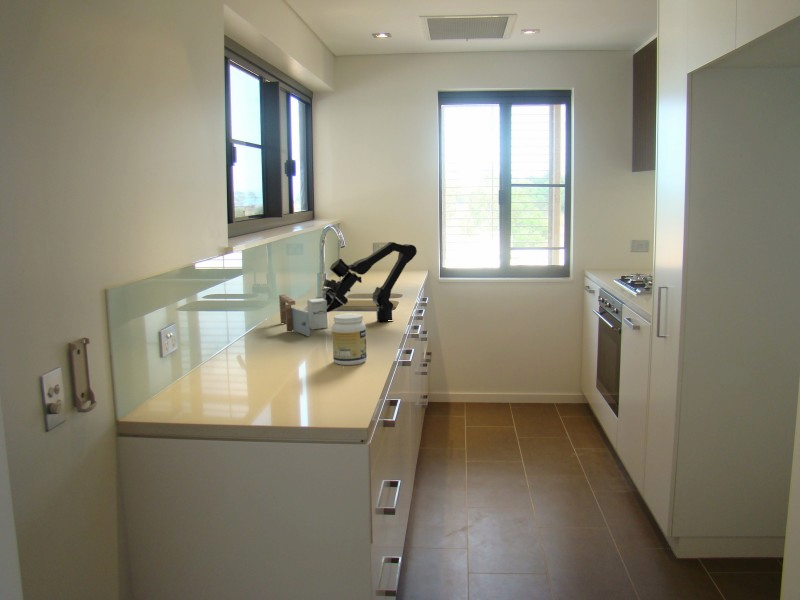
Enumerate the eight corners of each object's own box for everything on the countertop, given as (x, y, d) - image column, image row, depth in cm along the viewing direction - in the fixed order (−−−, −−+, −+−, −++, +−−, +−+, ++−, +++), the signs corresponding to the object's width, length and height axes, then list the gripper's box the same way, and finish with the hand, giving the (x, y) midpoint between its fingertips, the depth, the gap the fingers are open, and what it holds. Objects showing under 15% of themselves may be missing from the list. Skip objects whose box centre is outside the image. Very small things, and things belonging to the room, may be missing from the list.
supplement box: (312, 329, 312) (311, 302, 309) (307, 326, 318) (306, 299, 316) (328, 328, 315) (327, 300, 312) (323, 324, 321) (322, 297, 319)
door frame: (296, 331, 309) (295, 301, 307) (287, 332, 308) (285, 301, 306) (285, 323, 330) (284, 294, 327) (277, 323, 328) (275, 295, 326)
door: (289, 330, 310) (288, 308, 308) (294, 329, 311) (293, 307, 309) (304, 336, 296) (303, 313, 295) (309, 335, 297) (308, 312, 296)
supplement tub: (367, 365, 247) (365, 317, 244) (333, 366, 246) (330, 319, 243) (366, 356, 259) (364, 311, 256) (333, 358, 258) (331, 313, 255)
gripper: (327, 270, 323) (305, 296, 321) (339, 274, 306) (316, 301, 304) (344, 285, 327) (323, 311, 325) (357, 290, 310) (334, 317, 308)
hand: (324, 310), depth 315 cm, fingers open, 9 cm apart
